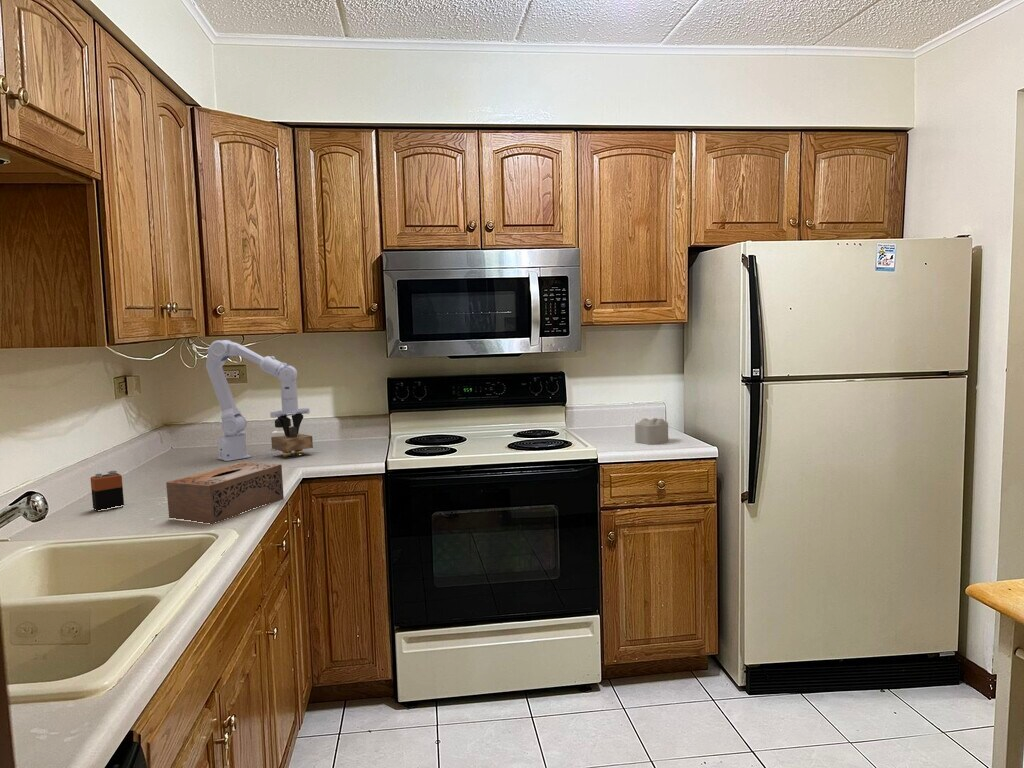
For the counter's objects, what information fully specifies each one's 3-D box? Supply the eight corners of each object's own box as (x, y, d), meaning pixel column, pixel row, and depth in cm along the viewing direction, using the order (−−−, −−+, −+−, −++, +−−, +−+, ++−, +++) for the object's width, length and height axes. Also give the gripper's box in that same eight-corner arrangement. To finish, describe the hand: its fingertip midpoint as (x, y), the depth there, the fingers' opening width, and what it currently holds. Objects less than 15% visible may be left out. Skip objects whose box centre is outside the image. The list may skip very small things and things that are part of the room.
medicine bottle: (290, 449, 275) (288, 419, 274) (272, 450, 275) (270, 419, 274) (296, 446, 282) (294, 416, 281) (278, 446, 282) (276, 417, 281)
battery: (124, 507, 193) (121, 471, 192) (96, 512, 188) (93, 475, 187) (120, 504, 196) (117, 469, 195) (92, 509, 191) (89, 473, 190)
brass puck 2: (296, 455, 261) (296, 449, 261) (292, 454, 264) (292, 448, 263) (304, 454, 263) (304, 448, 263) (300, 453, 266) (300, 447, 265)
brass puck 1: (285, 457, 258) (284, 451, 258) (281, 456, 260) (280, 450, 260) (293, 456, 260) (292, 450, 260) (289, 455, 263) (288, 449, 262)
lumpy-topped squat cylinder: (631, 442, 265) (631, 419, 265) (653, 437, 273) (653, 416, 273) (652, 445, 257) (652, 422, 256) (675, 441, 265) (675, 418, 264)
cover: (285, 452, 254) (283, 430, 253) (271, 448, 262) (270, 427, 261) (312, 447, 261) (311, 426, 261) (299, 444, 269) (298, 424, 269)
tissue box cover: (212, 525, 172) (209, 485, 171) (169, 521, 178) (166, 482, 177) (283, 499, 196) (281, 464, 195) (244, 496, 201) (241, 462, 200)
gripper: (275, 401, 252) (277, 438, 253) (312, 397, 262) (314, 433, 263) (267, 400, 257) (269, 436, 258) (303, 396, 267) (305, 431, 268)
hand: (291, 434), depth 261 cm, fingers closed on cover, 3 cm apart
